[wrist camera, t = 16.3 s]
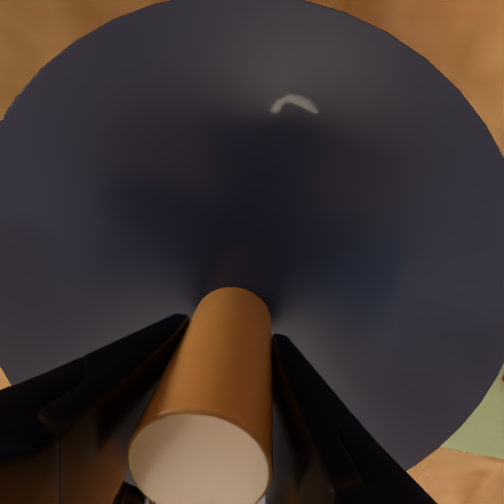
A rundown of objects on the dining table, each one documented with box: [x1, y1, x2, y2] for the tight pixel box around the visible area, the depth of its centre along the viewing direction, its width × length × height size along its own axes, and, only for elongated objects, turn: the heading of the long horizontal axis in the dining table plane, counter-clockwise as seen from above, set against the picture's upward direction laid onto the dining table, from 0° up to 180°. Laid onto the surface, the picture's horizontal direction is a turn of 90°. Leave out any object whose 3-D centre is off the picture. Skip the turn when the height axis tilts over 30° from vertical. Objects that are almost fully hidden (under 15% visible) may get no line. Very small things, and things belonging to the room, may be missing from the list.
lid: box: [0, 0, 504, 504], centre depth 8 cm, size 18×18×6 cm
